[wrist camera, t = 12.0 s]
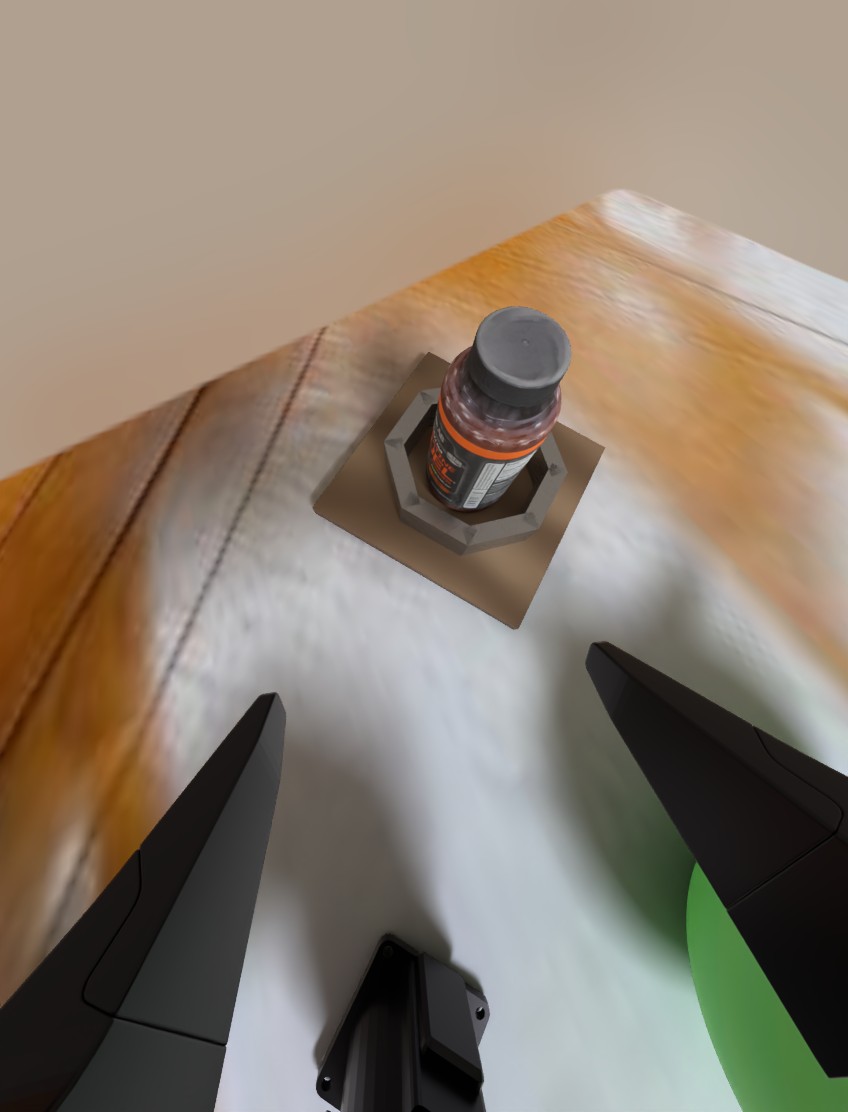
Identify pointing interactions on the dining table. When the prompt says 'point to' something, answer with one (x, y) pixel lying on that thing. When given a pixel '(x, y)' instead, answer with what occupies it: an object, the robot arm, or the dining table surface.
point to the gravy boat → (750, 1017)
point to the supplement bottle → (496, 407)
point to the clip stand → (478, 578)
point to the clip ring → (445, 527)
